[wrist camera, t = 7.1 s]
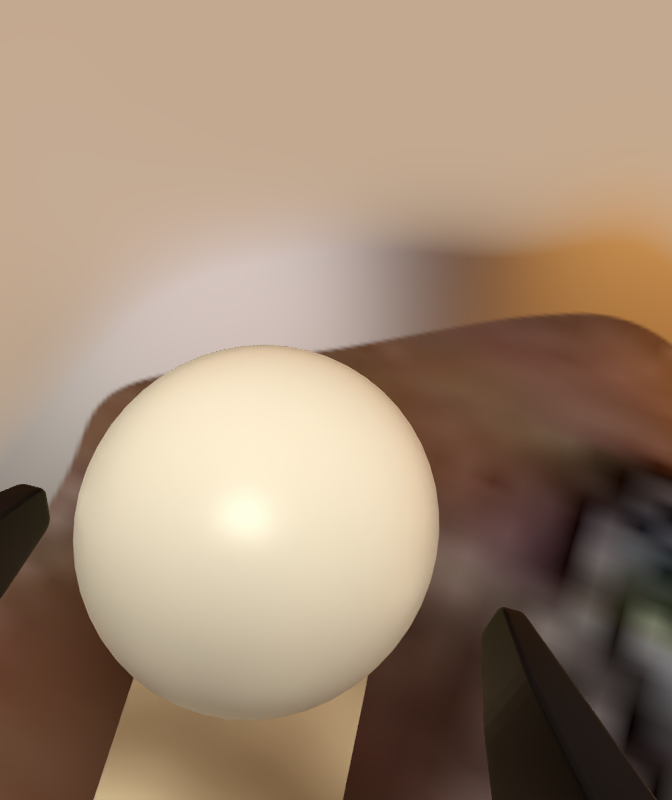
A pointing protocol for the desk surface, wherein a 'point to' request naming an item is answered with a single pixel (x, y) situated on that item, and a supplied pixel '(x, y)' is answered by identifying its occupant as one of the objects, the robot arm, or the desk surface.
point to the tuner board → (230, 752)
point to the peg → (256, 532)
